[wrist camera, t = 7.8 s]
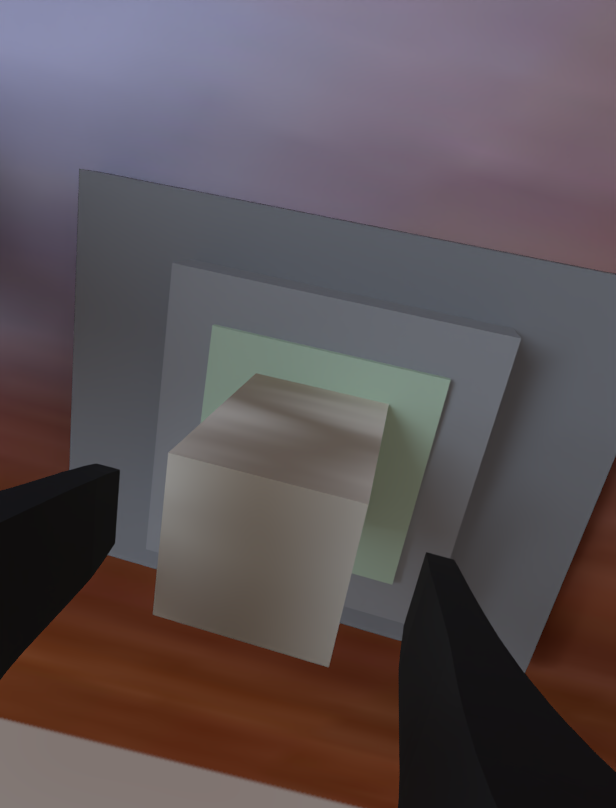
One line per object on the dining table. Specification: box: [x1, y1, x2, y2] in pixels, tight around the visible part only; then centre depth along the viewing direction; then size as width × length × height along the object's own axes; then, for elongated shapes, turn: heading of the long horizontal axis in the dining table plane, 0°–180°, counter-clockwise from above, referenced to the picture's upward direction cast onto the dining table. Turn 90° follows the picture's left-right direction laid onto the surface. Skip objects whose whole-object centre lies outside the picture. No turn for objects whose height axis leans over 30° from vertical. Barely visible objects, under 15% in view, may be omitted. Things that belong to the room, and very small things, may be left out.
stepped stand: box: [69, 169, 616, 673], centre depth 18 cm, size 18×14×3 cm
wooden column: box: [153, 373, 389, 667], centre depth 14 cm, size 4×4×6 cm
